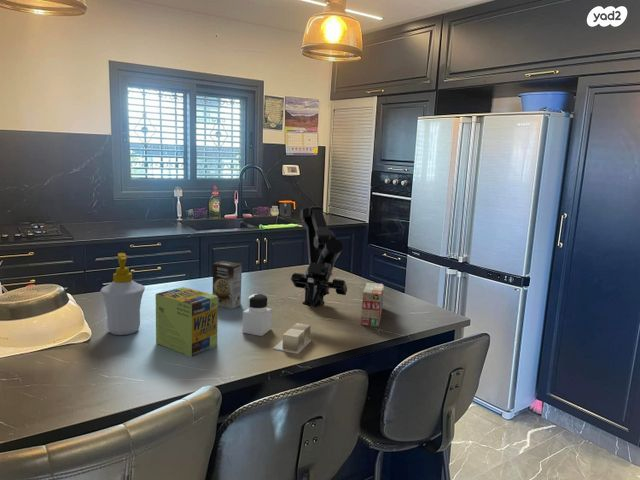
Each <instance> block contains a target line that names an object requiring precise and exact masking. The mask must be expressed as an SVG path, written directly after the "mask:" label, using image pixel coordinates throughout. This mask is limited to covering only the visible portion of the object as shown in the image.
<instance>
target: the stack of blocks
mask: <svg viewBox="0 0 640 480" xmlns="http://www.w3.org/2000/svg"><path fill="white" fill-rule="evenodd" d="M384 286H385V285H384V284H383V283H375V282H366V284H365V287H364V289H363V292H362V303H361V304H362V305H361V306H362V308H361V319H360V325H361V326H365V325H366V326H365V327H368V326H369V327H375V328H376V327H377V328H378V327H379V325H380V324H381V318H382V316H381V315H382V312H383V306H384V305H383V304H384Z"/></svg>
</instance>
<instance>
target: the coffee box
mask: <svg viewBox="0 0 640 480" xmlns="http://www.w3.org/2000/svg"><path fill="white" fill-rule="evenodd" d="M242 271H243V264H242V263H238V262H231V261H226V260H220V261H216V262H214V263H212V295H216V296H218V307H222V308H226V309H231V310H233V309H235V308H237V307H239V306H241V305H242V278H243V277H242V276H243V275H242V274H243V273H242Z"/></svg>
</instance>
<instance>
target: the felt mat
mask: <svg viewBox="0 0 640 480" xmlns="http://www.w3.org/2000/svg"><path fill="white" fill-rule="evenodd" d="M311 342H312V339H311V338H310V339H309V340H308V341H307V342H306V343H305V344H304V345H303V346H302V347H301V348H300V349H299V350H298V351H297V352H296V351H291V350H286V349H283V339H281V340H280V342H279V343H277V344H276V345H275V346H274V347H272V349H273V350H277V351H281V352H286V353H291V354H296V355H299V353H301V351H302V350H304V349H305V348H306V347H307V346H308V344H310V343H311Z"/></svg>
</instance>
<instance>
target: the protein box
mask: <svg viewBox="0 0 640 480" xmlns="http://www.w3.org/2000/svg"><path fill="white" fill-rule="evenodd" d="M218 307H219V306H218V296H216V295H213V293H212V294H211V293H208V292H204V291H200V290H195V289H193V288H188V287H185V286H181V287H178V288H174V289H169V290H166V291H161V292H157V293H156V294H155V344H157V345H160V346H163V347H165V348H168V349H171V350H172V351H176V352H177V353H181V354H184V355H186V356H188V357H194V356H196V355H198V354H201V353H203V352H205V351H207V350H210V349H212V348H215V347H217V346H218V319H219V317H218V309H219V308H218Z"/></svg>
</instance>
